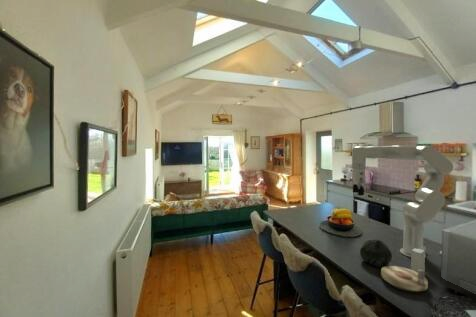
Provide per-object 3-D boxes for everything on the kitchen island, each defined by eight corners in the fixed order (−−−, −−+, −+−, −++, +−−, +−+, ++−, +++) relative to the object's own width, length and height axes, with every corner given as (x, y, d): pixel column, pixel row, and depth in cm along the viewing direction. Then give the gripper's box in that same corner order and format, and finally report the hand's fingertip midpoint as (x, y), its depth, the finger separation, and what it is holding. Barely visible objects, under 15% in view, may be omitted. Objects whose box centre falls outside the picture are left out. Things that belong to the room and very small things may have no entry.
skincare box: (420, 277, 114) (421, 253, 113) (410, 273, 118) (410, 250, 117) (425, 273, 117) (425, 250, 117) (414, 269, 121) (415, 247, 121)
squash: (364, 244, 140) (362, 231, 131) (393, 252, 130) (393, 238, 122) (359, 266, 132) (356, 253, 124) (390, 276, 123) (389, 263, 114)
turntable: (396, 266, 120) (397, 251, 120) (436, 285, 104) (437, 268, 103) (372, 273, 114) (372, 257, 113) (411, 295, 97) (411, 276, 97)
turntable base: (397, 273, 118) (398, 269, 118) (429, 288, 105) (429, 284, 105) (379, 278, 113) (379, 275, 113) (409, 295, 100) (409, 291, 100)
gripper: (370, 167, 133) (370, 196, 134) (360, 165, 150) (359, 191, 151) (356, 167, 134) (356, 196, 135) (348, 165, 151) (347, 191, 152)
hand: (358, 193), depth 143 cm, fingers open, 9 cm apart
